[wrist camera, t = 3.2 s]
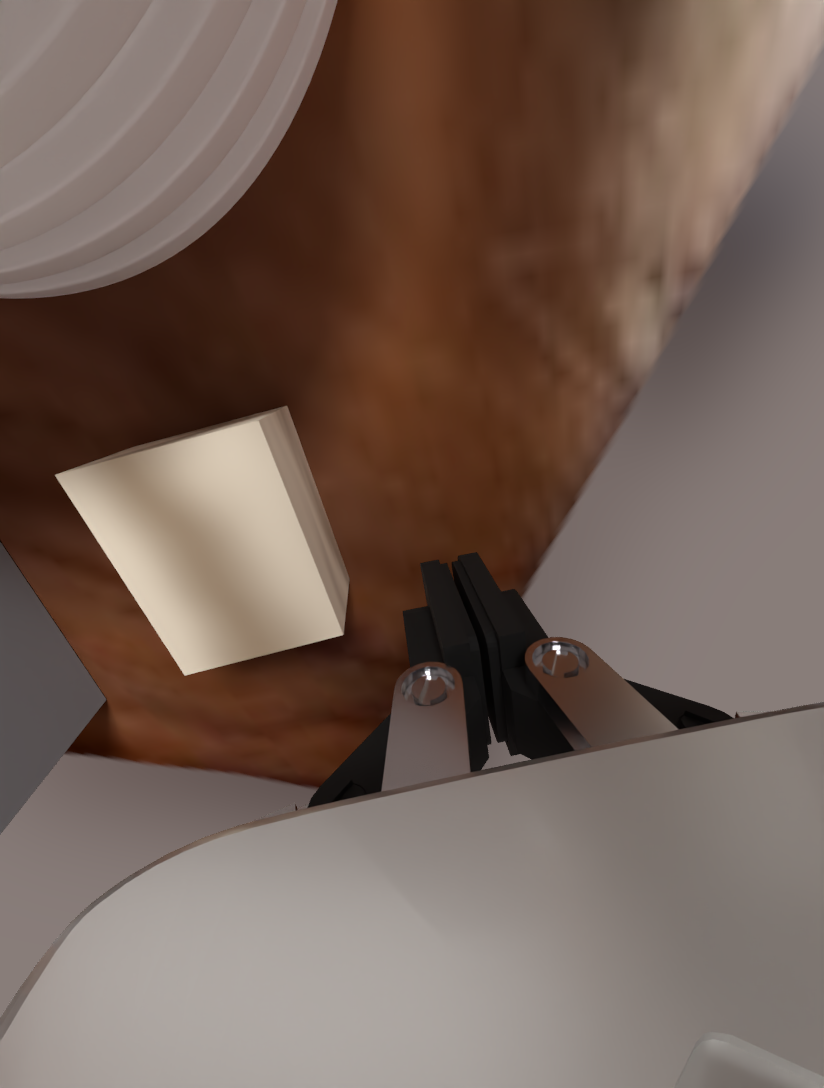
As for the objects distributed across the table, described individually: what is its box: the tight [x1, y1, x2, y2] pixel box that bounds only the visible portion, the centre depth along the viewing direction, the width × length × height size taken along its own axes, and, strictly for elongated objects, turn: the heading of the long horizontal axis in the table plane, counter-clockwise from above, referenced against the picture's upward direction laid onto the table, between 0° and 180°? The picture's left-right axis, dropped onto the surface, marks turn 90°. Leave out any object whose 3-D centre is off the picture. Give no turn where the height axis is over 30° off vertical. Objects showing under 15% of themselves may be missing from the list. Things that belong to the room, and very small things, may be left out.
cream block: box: [55, 406, 349, 675], centre depth 17 cm, size 7×9×5 cm
